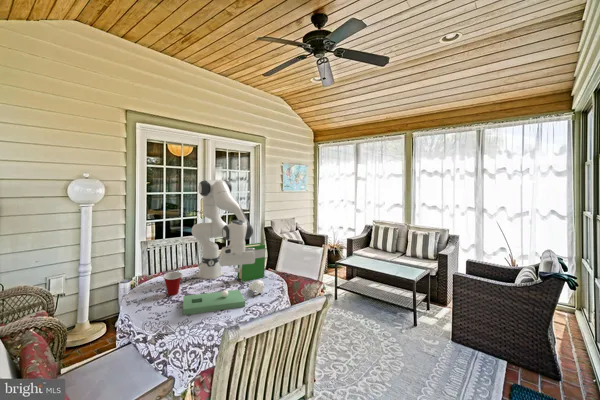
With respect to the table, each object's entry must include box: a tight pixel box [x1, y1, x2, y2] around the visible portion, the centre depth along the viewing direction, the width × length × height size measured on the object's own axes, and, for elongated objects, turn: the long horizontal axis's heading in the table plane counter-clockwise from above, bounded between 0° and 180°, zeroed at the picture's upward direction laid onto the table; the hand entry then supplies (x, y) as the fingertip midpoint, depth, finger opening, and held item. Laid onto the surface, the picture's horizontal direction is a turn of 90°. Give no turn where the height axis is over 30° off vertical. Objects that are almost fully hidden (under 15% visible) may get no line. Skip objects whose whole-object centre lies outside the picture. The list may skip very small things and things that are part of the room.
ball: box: [221, 289, 229, 298], centre depth 165 cm, size 4×4×4 cm
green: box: [182, 289, 246, 316], centre depth 163 cm, size 18×32×3 cm, turn 112°
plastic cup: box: [162, 271, 183, 296], centre depth 175 cm, size 11×11×12 cm
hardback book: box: [237, 242, 266, 283], centre depth 207 cm, size 18×7×24 cm, turn 127°
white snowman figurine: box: [248, 279, 265, 296], centre depth 181 cm, size 6×8×12 cm
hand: (237, 272), depth 167 cm, fingers closed
